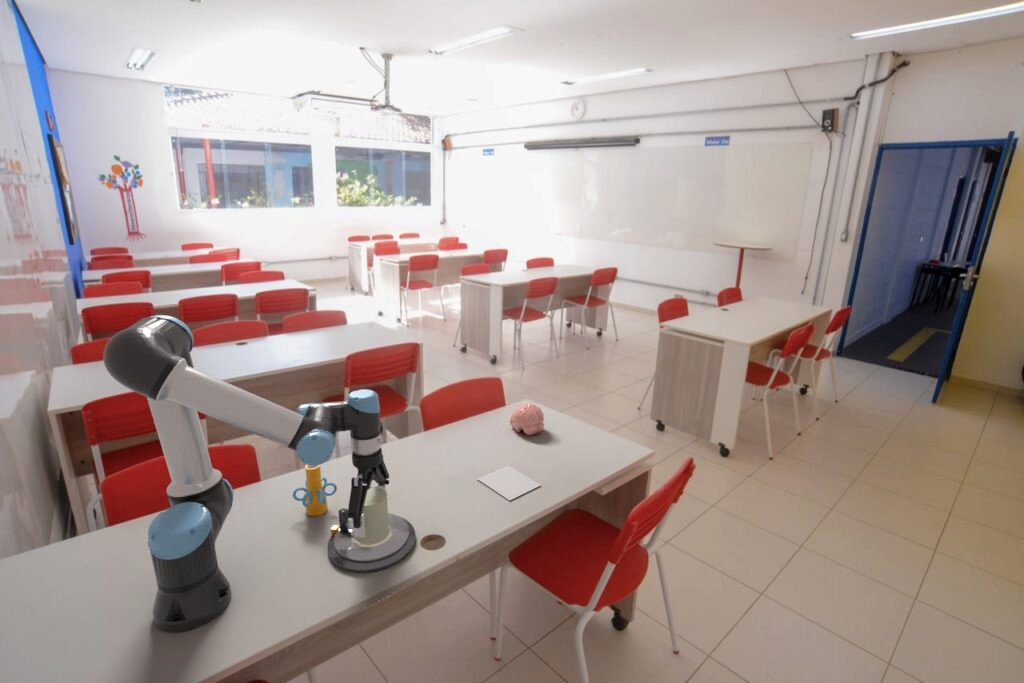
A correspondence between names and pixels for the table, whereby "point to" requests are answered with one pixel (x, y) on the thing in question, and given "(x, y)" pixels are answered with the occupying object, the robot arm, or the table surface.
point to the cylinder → (314, 491)
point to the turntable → (369, 552)
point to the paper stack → (508, 482)
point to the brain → (527, 419)
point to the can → (375, 516)
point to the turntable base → (372, 566)
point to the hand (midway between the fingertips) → (371, 520)
